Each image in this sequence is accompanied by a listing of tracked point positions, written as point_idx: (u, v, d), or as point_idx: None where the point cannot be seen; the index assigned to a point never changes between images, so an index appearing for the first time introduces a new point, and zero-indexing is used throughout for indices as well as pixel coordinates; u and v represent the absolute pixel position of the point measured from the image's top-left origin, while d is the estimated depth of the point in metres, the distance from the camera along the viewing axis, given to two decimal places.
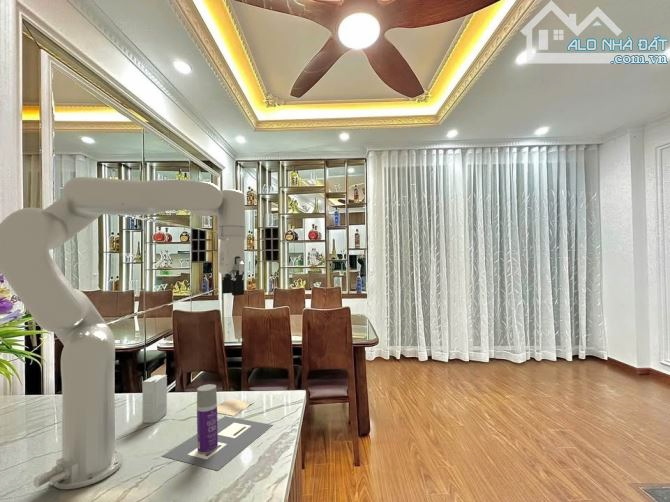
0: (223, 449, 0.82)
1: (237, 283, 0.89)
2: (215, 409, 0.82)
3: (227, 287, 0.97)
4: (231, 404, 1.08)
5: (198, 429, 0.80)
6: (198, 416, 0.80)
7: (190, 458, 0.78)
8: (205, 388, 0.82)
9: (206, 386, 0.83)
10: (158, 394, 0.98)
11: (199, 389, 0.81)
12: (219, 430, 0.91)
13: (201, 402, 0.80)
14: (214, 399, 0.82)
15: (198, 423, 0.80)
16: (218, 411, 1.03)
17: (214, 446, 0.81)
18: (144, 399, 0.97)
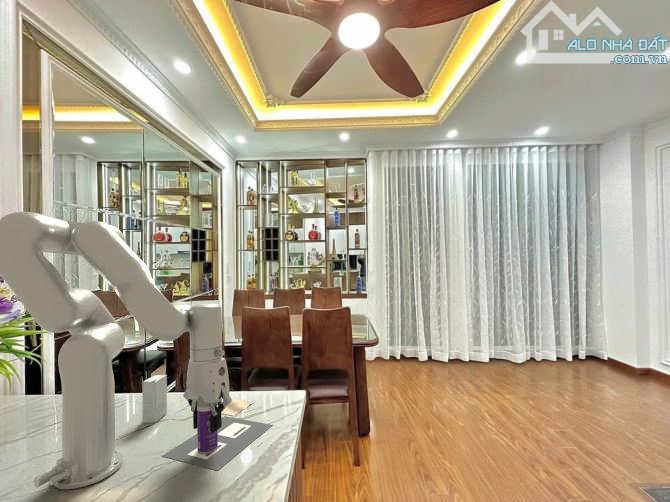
0: (223, 449, 0.82)
1: None
2: None
3: None
4: (231, 404, 1.08)
5: (198, 429, 0.80)
6: (198, 416, 0.80)
7: (190, 458, 0.78)
8: None
9: None
10: (158, 394, 0.98)
11: None
12: (219, 430, 0.91)
13: (202, 402, 0.80)
14: None
15: (198, 423, 0.80)
16: None
17: (214, 446, 0.81)
18: (144, 399, 0.97)
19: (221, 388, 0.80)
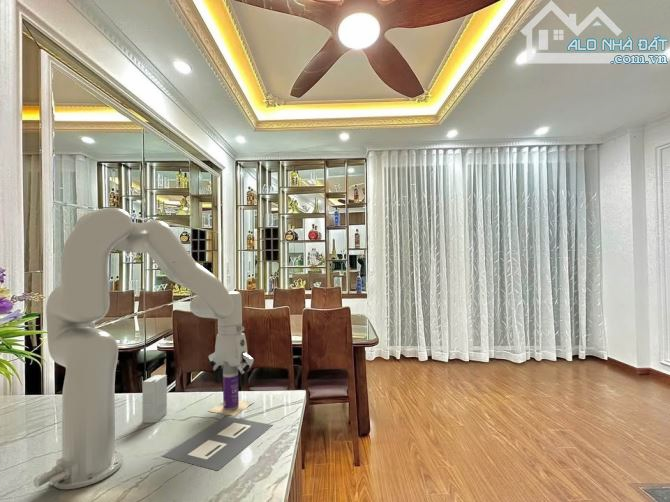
0: (223, 449, 0.82)
1: None
2: (237, 376, 1.06)
3: None
4: None
5: (224, 391, 1.05)
6: (224, 381, 1.05)
7: (190, 458, 0.78)
8: None
9: None
10: (157, 394, 0.98)
11: None
12: (219, 430, 0.91)
13: (227, 370, 1.04)
14: (236, 368, 1.06)
15: (224, 386, 1.05)
16: (218, 411, 1.03)
17: (236, 404, 1.05)
18: (144, 399, 0.97)
19: (242, 353, 1.05)
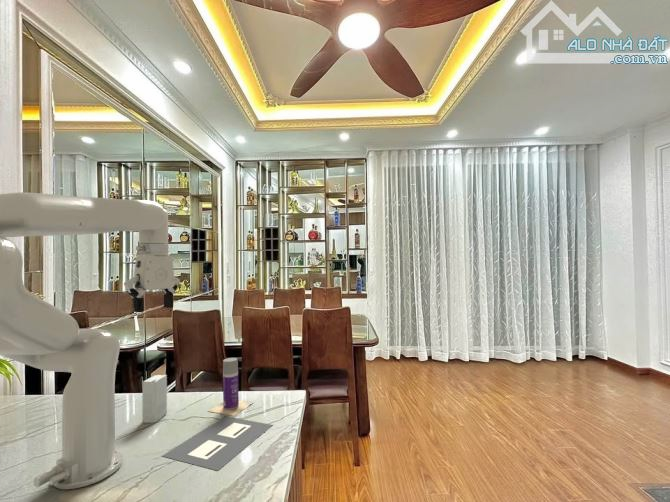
0: (223, 449, 0.82)
1: None
2: (237, 376, 1.06)
3: None
4: None
5: (224, 391, 1.05)
6: (224, 381, 1.05)
7: (190, 458, 0.78)
8: (229, 360, 1.06)
9: (229, 358, 1.08)
10: (157, 394, 0.98)
11: (225, 360, 1.06)
12: (219, 430, 0.91)
13: (227, 370, 1.04)
14: (236, 368, 1.06)
15: (223, 386, 1.05)
16: (218, 411, 1.03)
17: (236, 404, 1.05)
18: (144, 399, 0.97)
19: (135, 275, 0.91)
